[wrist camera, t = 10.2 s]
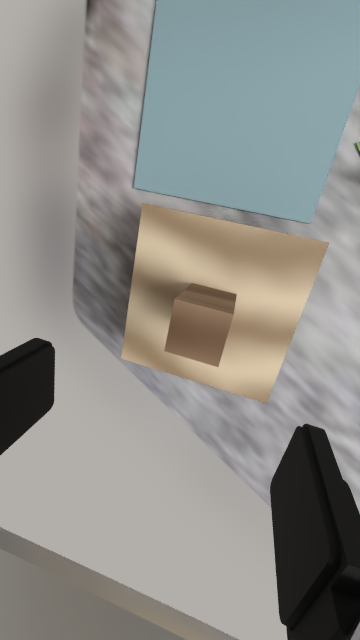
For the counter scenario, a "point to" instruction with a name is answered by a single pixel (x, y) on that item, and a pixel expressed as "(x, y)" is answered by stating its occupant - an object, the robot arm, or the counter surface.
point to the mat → (248, 101)
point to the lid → (217, 299)
